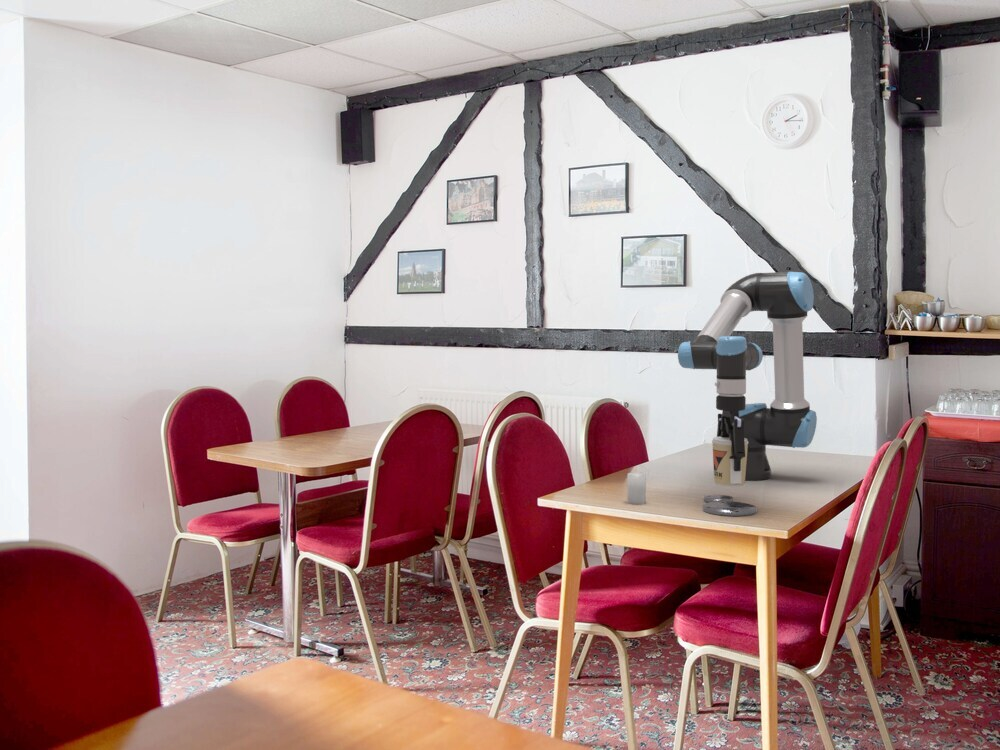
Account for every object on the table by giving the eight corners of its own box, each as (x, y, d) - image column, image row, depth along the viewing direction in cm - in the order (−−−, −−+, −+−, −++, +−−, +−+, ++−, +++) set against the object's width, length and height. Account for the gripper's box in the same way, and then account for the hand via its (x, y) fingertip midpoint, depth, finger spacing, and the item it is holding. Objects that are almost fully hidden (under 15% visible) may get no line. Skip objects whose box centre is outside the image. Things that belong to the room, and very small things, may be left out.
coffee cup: (706, 480, 248) (707, 436, 248) (740, 479, 249) (741, 435, 248) (717, 487, 239) (718, 441, 238) (753, 486, 240) (753, 440, 239)
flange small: (712, 497, 262) (712, 493, 262) (738, 500, 257) (738, 497, 257) (698, 501, 256) (698, 498, 256) (725, 505, 251) (725, 501, 251)
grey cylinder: (643, 500, 259) (643, 472, 258) (647, 504, 254) (647, 475, 253) (625, 500, 258) (625, 472, 258) (629, 504, 253) (629, 475, 253)
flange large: (745, 504, 252) (745, 500, 252) (764, 515, 238) (764, 511, 238) (695, 505, 251) (695, 501, 251) (712, 517, 237) (712, 513, 237)
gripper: (704, 391, 253) (703, 473, 254) (730, 398, 232) (729, 487, 233) (731, 391, 254) (730, 472, 255) (759, 398, 232) (758, 487, 234)
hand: (729, 479), depth 244 cm, fingers closed on coffee cup, 9 cm apart
